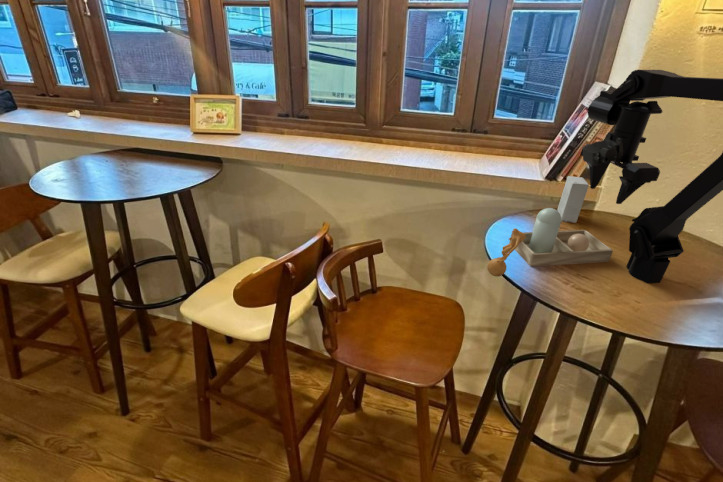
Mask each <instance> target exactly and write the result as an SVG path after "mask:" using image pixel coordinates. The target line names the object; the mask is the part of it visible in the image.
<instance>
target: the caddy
mask: <svg viewBox="0 0 723 482" xmlns="http://www.w3.org/2000/svg"><path fill="white" fill-rule="evenodd" d="M523 233H525V235H526V238H525V239H524V241H523V242H521V243H520V244H519V245H518V247H517V248H516V249H515V250H514V251H515V252H516V253H517V254H518V255H519V256H520V257H521V258H522V260H524V262H525V263H526V264H527V265H528V266H529V267H541V266H545V267H546V266H560V265H563V266H564V265H574V264H575V265H578V264H579V265H580V264H593V263H609V262H610V259H611V257H612V254H613V252H614V250H613V249H612V248H611V247H609V246H608V245H606V244H605V243H603V242H602V241H601V240H599V238H597V237H596V236H594V235H593V234H592V233H590V232H589V231H587V230H586V229H571V230H559V231H558V234H557V237H556V241H555V244H554V247H553V251H552V252H551V253H534V252H533V251H532V250H531V249H530V248H529V244H530V240H531V236H532V233H533V231H529V232H527V231H526V232H523ZM574 234H583V235H585V236H586V237H587V238H588V239H589V247H588V249H587V250H586V251H573V250H571V249H570V248H569V247H568V239H569V238H570V237H571V236H572V235H574ZM512 236H513V233H512V232H511V235H510V238H511V237H512ZM511 240H512V239H510V240H509V242H508V244H509V243H511Z"/></svg>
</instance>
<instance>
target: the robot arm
mask: <svg viewBox="0 0 723 482" xmlns="http://www.w3.org/2000/svg"><path fill="white" fill-rule="evenodd" d="M662 98H663V99H664V98H682V99H692V100H693V99H695V100H705V101H714V102H715V101H717V102H723V78H718V77H699V76H697V77H694V76H693V77H692V76H682V75H679V74H677V73H675V72H672V71H667V70H663V69H635V70H633V71H631V73H630V74H629V75H628V76H627V77H626V79H625V80H624V81H623V82H622V83H621V84H620V85H619V86H618V87H617V88H615V90H614V91H611V90H601V91H600V93H599V95H598V96H597V97H595V98H593V100H592V101H591V103H590V104H589V105H588V108H587V117H588V118H589V119H590V120H593V121H595V122H598V123H602V124H605V125H608V126H614V128H613V131H612V132H607V134H606V135H605V138H604V139H603V140H598V141H595V142H592V143H586V144H585V145H584V146H582V148H581V150H580V156H582V162H585V163H586V164H587V165H588V167H589V187H590V189H592V190H594V189H596V188H597V186H598V185H599V183H600V181H601V180H602V178H603V176H604V175H605V173H606V172H607V169H608V168H609V166H610V164H613V165H614V166H617V167H619V168H621V169H622V170H621V173H622V174H621V175H622V176H618V177H619V180H620V182H621V183H620V184H621V185H620V187H619V191H618V194H617V196H616V200H615V205H621V204H623V202H625V201H626V200H627V199H628V198H629V197H630V196H631V195H633V194H634V193H635V192H636V191H637V190H638V189H639V188H641V187H642V186H644V185H645V184H649V183H651V182H657V181H658V178H659V177H660V173H661V171H660V169H659V167H657V166H654V165H652V164H650V163H648V162H638V160H639V159H640V156H639V155H637V151H638V148H639V145H640V144H641V143H642V144H643V143H646V140H647V138H646V137H644V136H643V135H644V133H645V130H646V127H647V125H648V123H649V121H650V117H651V115H659V114H662V113H663V109H662V108H661V106H660V105H659V103H658V101H657V100H654V99H662ZM652 99H653V100H652ZM645 100H648V101H647V102H643V101H645ZM635 161H636V162H635ZM722 191H723V151H722V152H721V154H720V155H719V156H718V157H717V158H716V159H715V160H714V161H713V162H712V163H710V164H709V165H708V166H707V167H706V168H705V169H704V170H703V171H701V173H699V174H698V175H697V176H696V177H695V178H694V179H692V180H691V181H690V182H689V183H688V184H687V185H685V186H684V187H683V189H682V190H680V191H679V192H678V193H677V194H675V196H674V197H672V198H671V199H670V200H669V201H668V202H667V203H666V204H664V205H662V206H661V205H660V206H654V207H653V206H652V207H646V208H644V209H643V210H642V211H641V212H640V213H639V214H638V216H637V217H636V218H633V219H631V221H632V223H631V224H630V226H629V228H628V230H629V241H628V242H629V244H628V245H629V246H628V251H629V252H630V253H631V254H630V256H629V259H628V260H627V263H626V266H625V267H626V269H627V271H628V274H629V275H630V276H632V277H633V278H634V279H636V280H638V281H642V282H644V283H645V284H648V285H649V284H660V283H661V282H662V279H663V277H664V276H665V273H666V271H667V270H668V268H669V265H670V263H671V260H670V259H669V258H678V257H680V256H681V255H682V253H683V252H684V248H683V244H682V242H681V240H680V237H679V235H680V234H681V233H682V232H683V230H684V228H685V224H686V221H687V220H688V219H689V218H690V217H691V216H693V215H694V214H695V213H696V212H698V211H699V210H700V209H701V208H702V207H704V206H705V205H707V204H708V203H709V202H710V201H711V200H713V199H714V198H715V197H716V196H718V195H719V194H720V193H722Z"/></svg>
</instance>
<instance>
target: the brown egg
mask: <svg viewBox="0 0 723 482" xmlns="http://www.w3.org/2000/svg"><path fill="white" fill-rule="evenodd" d="M568 247H569V248H570V249H571V250H573V251H586V250H587V249H588V247H589V239H588V238H587V237H586V236H585V235H583V234H574V235H572V236H571V237H570V238H569V239H568Z"/></svg>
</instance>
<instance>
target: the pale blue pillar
mask: <svg viewBox="0 0 723 482" xmlns="http://www.w3.org/2000/svg"><path fill="white" fill-rule="evenodd" d="M561 224H562V221H561V215H560V213H559V212H558V211H557V209H555V208H552V207H546V208H543V209H541V210H540V211H539V212H538V214H537V215H536V218H535V223H534V225H533V230H532V232H533V233H532V236H531V240H530V244H529V248H530V249H531V250H532V251H533V252H534V253H551V252H552V251H553V247H554V244H555V241H556V237H557V234H558V231H560V227H561Z"/></svg>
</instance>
